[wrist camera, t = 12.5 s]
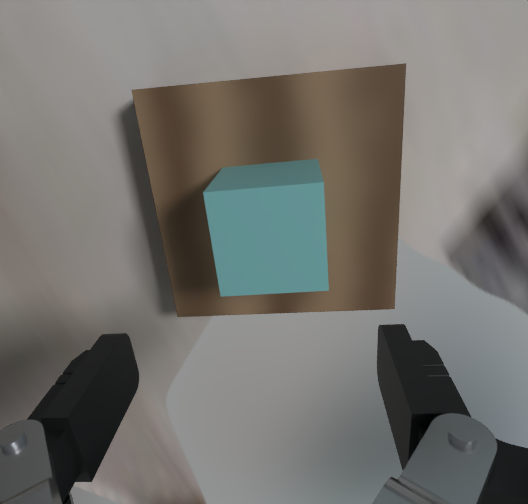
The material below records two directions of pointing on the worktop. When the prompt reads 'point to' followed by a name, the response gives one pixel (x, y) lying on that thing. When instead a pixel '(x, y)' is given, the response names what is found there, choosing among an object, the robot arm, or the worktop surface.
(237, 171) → the teal cube
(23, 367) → the worktop surface
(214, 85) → the walnut stand
